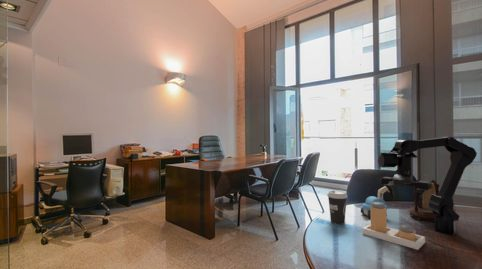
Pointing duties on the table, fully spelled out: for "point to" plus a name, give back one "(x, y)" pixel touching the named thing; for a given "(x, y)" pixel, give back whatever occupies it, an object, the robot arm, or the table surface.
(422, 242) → the housing
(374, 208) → the knob-topped wooden post
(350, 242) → the table surface
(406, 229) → the grey and tan piece
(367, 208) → the toy excavator
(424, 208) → the scroll
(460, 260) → the table surface
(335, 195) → the coffee cup
